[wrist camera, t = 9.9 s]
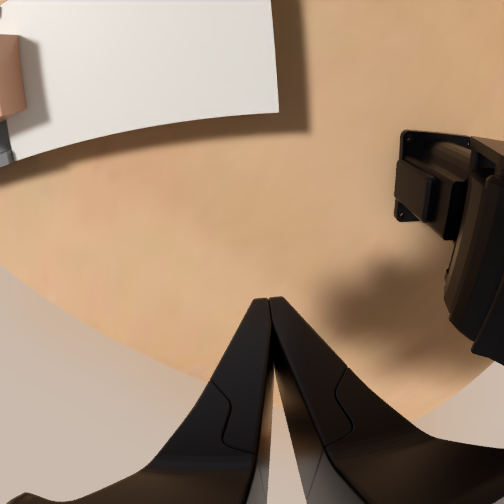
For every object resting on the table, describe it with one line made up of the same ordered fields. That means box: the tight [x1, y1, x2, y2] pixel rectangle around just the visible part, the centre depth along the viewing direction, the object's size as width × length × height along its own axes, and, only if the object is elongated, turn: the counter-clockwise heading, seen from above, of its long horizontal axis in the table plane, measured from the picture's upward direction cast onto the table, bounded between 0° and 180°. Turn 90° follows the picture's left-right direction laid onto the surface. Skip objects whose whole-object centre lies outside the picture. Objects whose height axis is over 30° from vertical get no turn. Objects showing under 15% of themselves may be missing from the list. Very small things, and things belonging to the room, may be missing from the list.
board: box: [0, 0, 279, 161], centre depth 13 cm, size 16×11×3 cm
